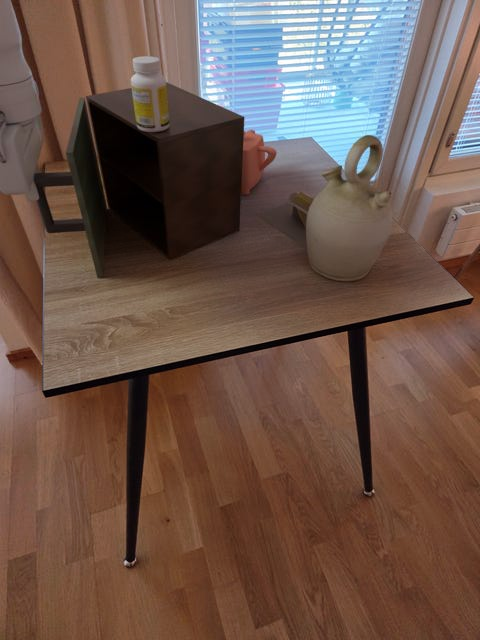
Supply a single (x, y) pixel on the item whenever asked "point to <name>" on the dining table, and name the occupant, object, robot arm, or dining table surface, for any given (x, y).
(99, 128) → the cupboard
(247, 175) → the teapot
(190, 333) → the dining table surface
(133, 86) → the supplement bottle
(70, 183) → the cupboard door
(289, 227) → the platform
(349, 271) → the jug
